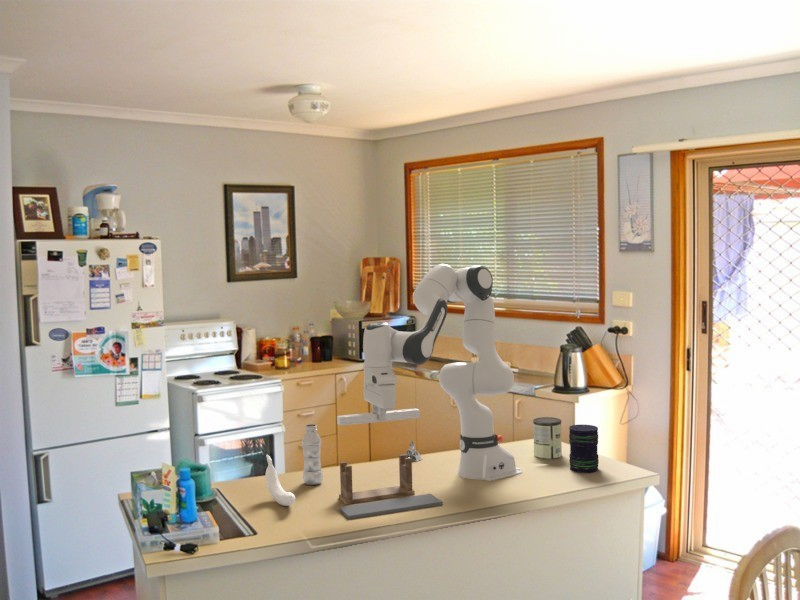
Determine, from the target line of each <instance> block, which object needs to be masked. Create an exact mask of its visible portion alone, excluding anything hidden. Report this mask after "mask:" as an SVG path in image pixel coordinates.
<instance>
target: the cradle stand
mask: <svg viewBox="0 0 800 600" xmlns="http://www.w3.org/2000/svg"><path fill="white" fill-rule="evenodd" d="M405 454H406V453H404V454H399V455H398V460H399V461H398V462H399V463H398V464H399V467H398V468H399V471H398V472H399V485H396V486H389V487H383V488H382V487H381V488H375V489H368V490H362V491H354V492H353V467H352V465H348V462H347V461H341V462H339V475H340V477H339V478H340V479H339V480H340V493H339V494H338V499H339V501H341V502H342V503H343V504H345V505H353V504H360V503H364V502H365V503H367V502H374V501H380V500H384V499H385V498H387V499H393V498H401V497H405V496H406V497H408V496H414V495H415V493H416V492H415V489H413V466H412V465H413V461H412V458H406V455H405ZM392 497H393V498H392ZM379 499H380V500H379ZM385 500H386V499H385Z"/></svg>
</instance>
